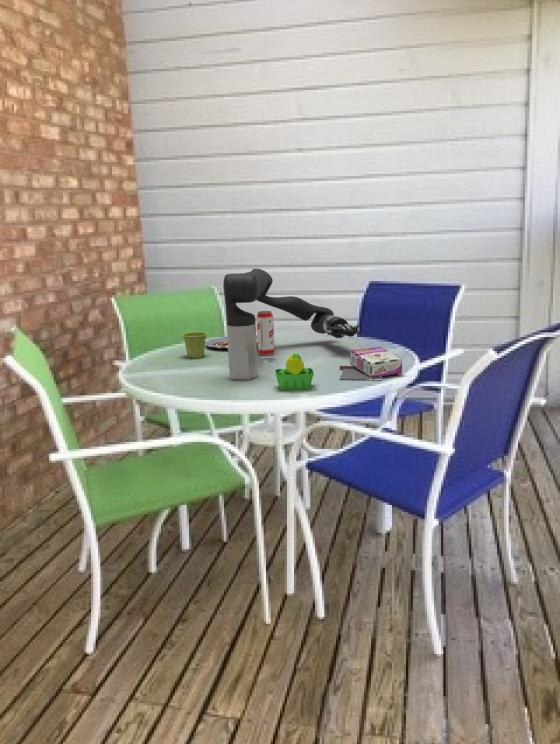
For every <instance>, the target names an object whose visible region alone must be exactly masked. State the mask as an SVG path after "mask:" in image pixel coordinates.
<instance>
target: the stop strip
mask: <svg viewBox="0 0 560 744" xmlns="http://www.w3.org/2000/svg"><path fill="white" fill-rule="evenodd" d="M344 369H357V368H356V367H354V366H353V365H339V371H341V370H342V371H343V370H344Z"/></svg>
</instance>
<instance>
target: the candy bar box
mask: <svg viewBox="0 0 560 744" xmlns="http://www.w3.org/2000/svg"><path fill="white" fill-rule="evenodd" d="M349 364H350V366H354V367H356V368H357V369H359V370H360V371H362V372H363V373H365V374H366V375H368V376H369V377H370V378H372V377H378V376H383V377H384V376H391V375H396V374H402V373H403V358H400V357H399V356H397V355H395V354H394V353H392V352H390V351H389V350H386V349H384V348H383V347H382V346H376V347H368V348H361V349H353V350H349Z"/></svg>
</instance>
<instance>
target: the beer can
mask: <svg viewBox="0 0 560 744" xmlns="http://www.w3.org/2000/svg"><path fill="white" fill-rule="evenodd" d="M256 336H257V339H258V345H257V354H259V355H260V356H263V355H267V356H273V355H274V354H275V327H274V314H273V313H272V310H271V311H270V310H261V311H258V312H257V315H256Z"/></svg>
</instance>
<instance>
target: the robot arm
mask: <svg viewBox="0 0 560 744" xmlns="http://www.w3.org/2000/svg"><path fill="white" fill-rule="evenodd" d="M273 281H274V280H273V277H272V275H270V273H268V272H266V271H265V270H263V269H261V268H253V269H252V270H251V271H247V272H245V273H244V272H242V273H227V274H225V275H224V277H223V285H222V287H223V294H224V295H223V297H224V307H225V317H226V319H225V320H226V332H227V333H226V337H227V339H228V349H227V355H228V356H227V358H228V369H229V371H228V372H229V378H230V380H235V381H236V380H243V381H245V380H252V379H255V378H257V377H258V376H259V370H258V368H259V367H258V365H259V364H258V345H257V344H256V336H257V320H256V316H255V314H253V313H252V312H248V311H246V310H243V309H242V308H240V307H239V306H238V305H237V304H242V303H243V304H246V303H247V304H248V303H249V304H250V303H253V302H255V301H257V302H258V303H259V302H260V303H261V304H262V303H263V304H265V305H268V306H270V307H272V308H276V309H278V310H281V311H284V312H286V313H288V314H291V315H292V316H294V317H296V318H297V319H300V320H302V321H305V322H307V321H308V320H310V319H311V318H312V317H313V319H312V321H311V323H310V328H311V330H312V331H314V332H315V333H317V334H326V335H328V336H331V337H334V338H336V339H342V338H344V337H346V336H347V337H349V338H352V337H354V336H356V334H358V333H360V325H359V324H357V325H351V324H350V323H349V322H348V321H347V320H346V319H344V318H343V317H340V316H337V315H335V314H334V311H333V310H332V309H331V308H328V307H324V306H318V305H315V304H311V303H309V302H307V301H306V300H304V299H302V298H300V297H298V296H292V295H291V296H290V295H289V296H288V295H287V296H279V297H278V296H277V297H276V296H269V295H267V294H268V292H269V290H270V288H271V287H272V284H273Z"/></svg>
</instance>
